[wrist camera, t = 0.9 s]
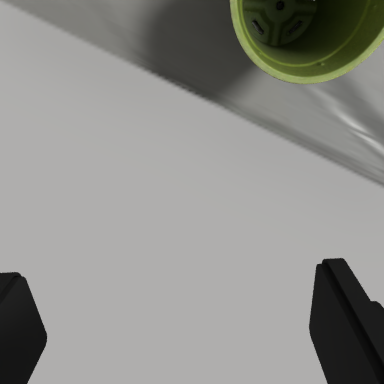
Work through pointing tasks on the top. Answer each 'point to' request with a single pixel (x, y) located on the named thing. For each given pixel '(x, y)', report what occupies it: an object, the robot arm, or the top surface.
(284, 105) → the top surface
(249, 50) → the plant pot
